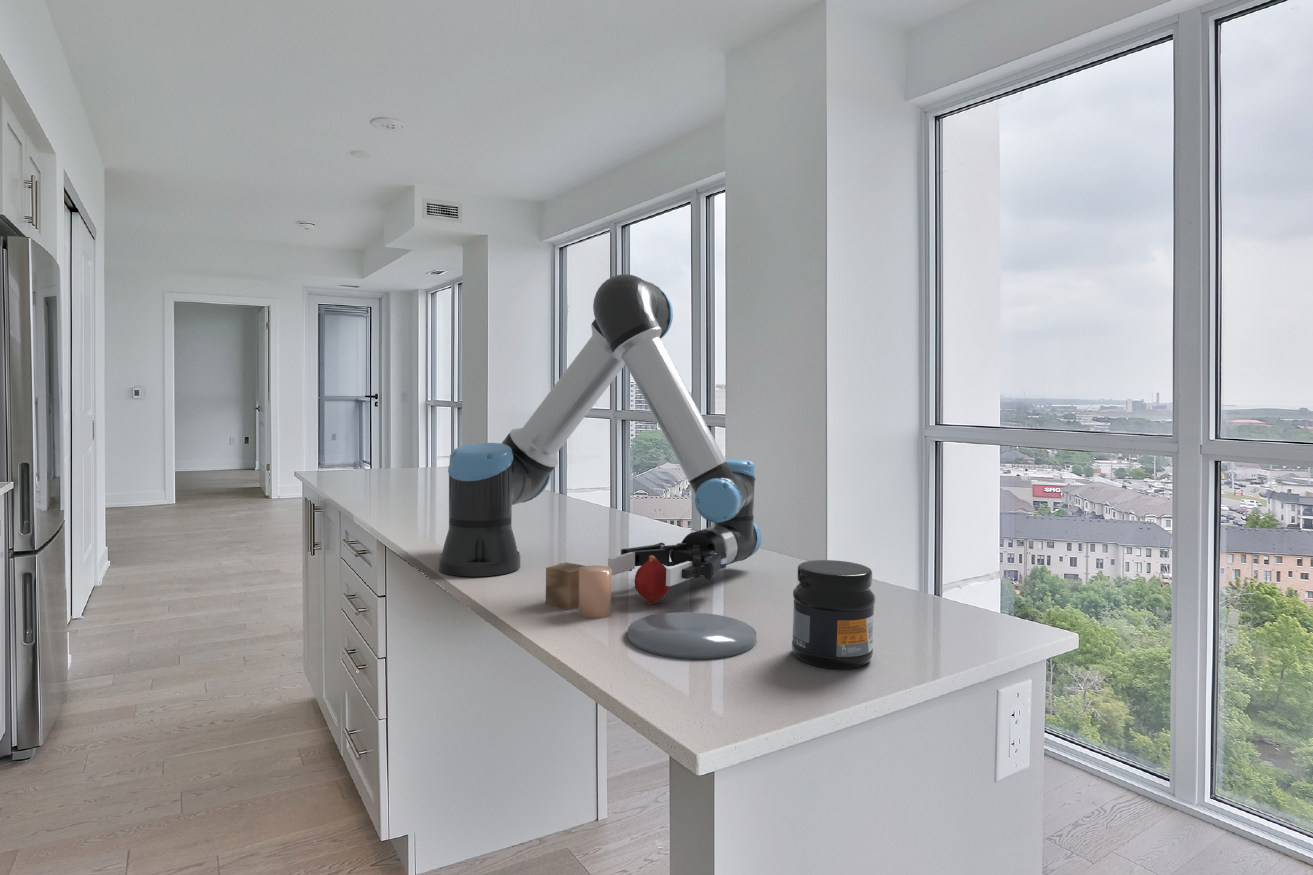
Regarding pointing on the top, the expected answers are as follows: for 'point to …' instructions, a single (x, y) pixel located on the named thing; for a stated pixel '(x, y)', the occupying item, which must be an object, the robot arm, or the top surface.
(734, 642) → the slate plate
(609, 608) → the cylinder
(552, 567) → the walnut block
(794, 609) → the supplement container
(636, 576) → the red pomegranate
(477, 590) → the top surface
